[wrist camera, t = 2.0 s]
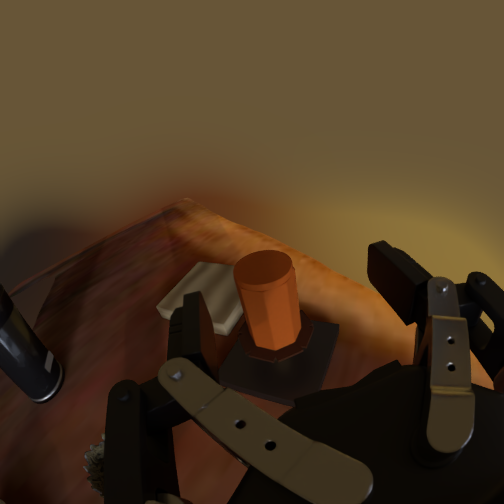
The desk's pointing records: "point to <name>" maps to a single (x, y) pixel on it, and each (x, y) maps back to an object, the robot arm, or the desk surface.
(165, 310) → the grey stone tile
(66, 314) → the desk surface
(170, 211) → the desk surface
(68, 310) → the desk surface
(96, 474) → the dark ridged round part
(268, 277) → the hat
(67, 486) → the desk surface
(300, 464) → the robot arm
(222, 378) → the hat stand
